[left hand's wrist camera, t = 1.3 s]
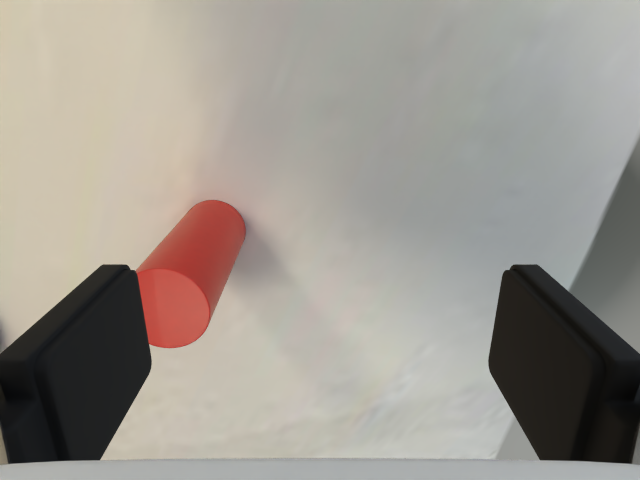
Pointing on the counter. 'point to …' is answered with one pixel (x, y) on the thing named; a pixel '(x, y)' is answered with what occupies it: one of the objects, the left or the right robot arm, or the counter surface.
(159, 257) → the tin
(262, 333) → the counter surface
